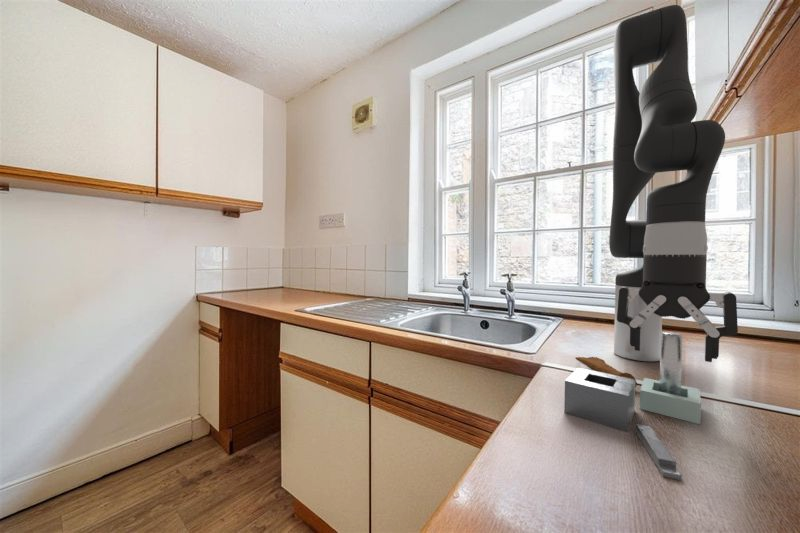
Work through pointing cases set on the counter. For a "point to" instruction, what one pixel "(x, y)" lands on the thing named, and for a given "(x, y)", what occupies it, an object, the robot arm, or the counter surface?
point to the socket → (600, 397)
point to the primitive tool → (603, 367)
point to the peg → (670, 363)
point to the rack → (671, 401)
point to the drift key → (658, 452)
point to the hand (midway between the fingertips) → (670, 354)
